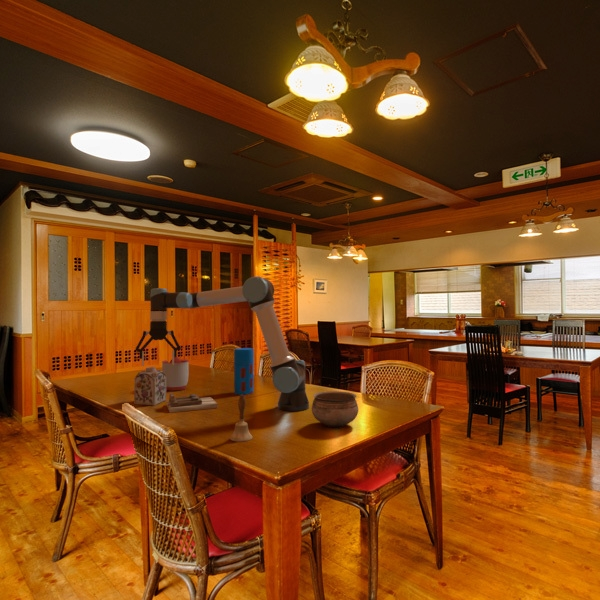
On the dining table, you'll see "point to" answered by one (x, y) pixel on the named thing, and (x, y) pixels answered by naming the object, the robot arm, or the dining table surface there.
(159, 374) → the decorative jar
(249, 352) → the thermos
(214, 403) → the keyhole board
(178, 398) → the walnut panel
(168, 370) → the citrus juicer
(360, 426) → the dining table surface
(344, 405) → the cooking pot
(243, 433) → the hand bell
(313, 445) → the dining table surface
